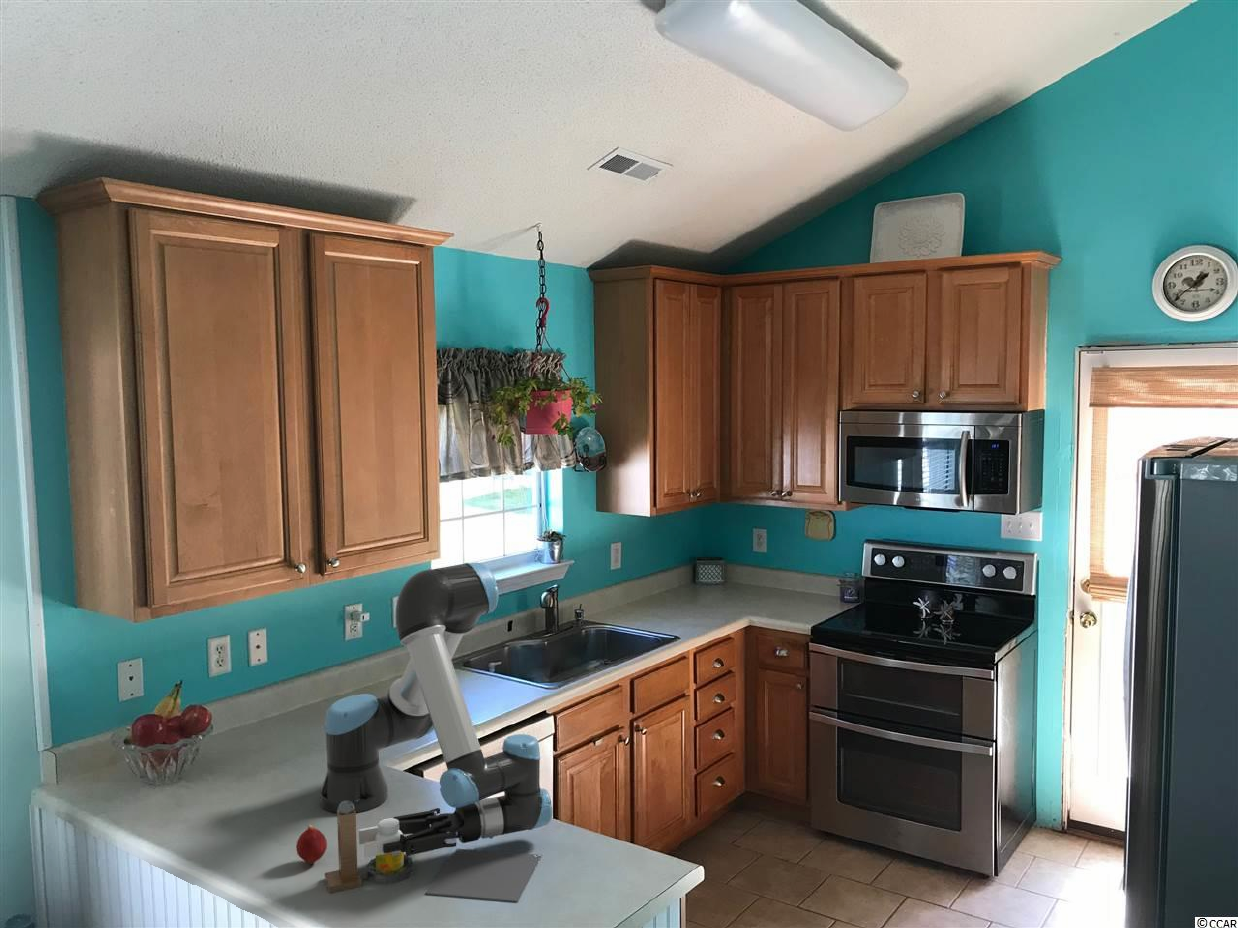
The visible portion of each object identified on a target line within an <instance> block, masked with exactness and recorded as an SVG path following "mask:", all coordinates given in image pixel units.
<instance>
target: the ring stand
mask: <svg viewBox="0 0 1238 928" xmlns="http://www.w3.org/2000/svg"><path fill="white" fill-rule="evenodd" d="M356 813H357V812H355V810H354V804H353V803H352V802H351V801H348V800H345V801H343V802H341V803H340V805H339V807H338V809H337V813H336V818H337V819H336V820H337V821H336V822H337V847H338V848H337V849H338V850H337V853H338V869H336V870H332V871H327V872H324V880H325V884H326V886H327V891H328V892H329V894H332V893H336V892H340V891H344V890H350V889H354V888H358V887H362V886H363V882H362V881H363V880H369V881H371V882H372V883H374V884H385V885H387V884H388V885H389V884H393V883H399V882H401V881H403V880H405V879H408V878H409V877H410V876H411V875H412V873H413V872H414V862H413V859H412V857H410V855H409V856H407V855H406V853H405V854H404V868H403V869H402V870H400V871H398V872H394V873H388V874H384V873H377V872H376V857H375V858H372V859H370V861H369V862H368V863H367V864H366V865H365V867H364V868H360V869H358V850H357V849H358V847H357V844H358V842H357V819H356V817H357V816H356V815H357V814H356Z"/></svg>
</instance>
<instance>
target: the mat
mask: <svg viewBox="0 0 1238 928" xmlns="http://www.w3.org/2000/svg"><path fill="white" fill-rule="evenodd" d="M534 855H536V856H537V857H535V856H534ZM538 855H539V854H537V853H536V854H534V853H521V852H510V851H509V852H507V851H496V850H495V851H494V850H482V849H468V848H456V850H455V851H454V852H453V853H452V855H451V856H450V858H449V859H448V861H447V862H446V863H445V865H444V866H443V867H442V869H441V870H440V872H439V873H438V875H437V876H436V877H435V879H434V880H433V881H432V883H431V884H430V885H429V887H428V888H427V889H426V891H425V894H424V895H426V896H437V897H439V896H441V897H452V898H461V899H463V898H464V899H473V898H474V900H475V899H476V900H484V901H485V900H486V901H497V902H500V901H501V902H509V903H518V902H519V901H520V898H521V897H522V895H523V893H524V892H525V889H526V887H527V885H528V883H529V881H530V879H531V878H532V876H533V874H534V873H535V870H536V868H537V866H538V865H537V864H539V863H538V861H539V860H540V861H541V859H540V858H542V857H543V855H542V854H540V855H541V856H542V857H541V856H538ZM540 861H539V862H540ZM535 867H536V868H535Z"/></svg>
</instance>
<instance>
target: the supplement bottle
mask: <svg viewBox="0 0 1238 928" xmlns="http://www.w3.org/2000/svg"><path fill="white" fill-rule="evenodd" d="M377 826H378V830H379V832H378V833H377V835H376V837H375V840H380V839H385V838H390V837H395V836H399V841H400V835H401V834H402V835H404V834H403V833H402V832H401V831H400V830H399V821H398V820H397V819H394V818H393V817H389V818H385V819H381V820H380V821H379V822H378V825H377ZM404 853H405V852H401V851H397V852H392V853H387V854H382V855H377V856H375V858H376V868H375V872H377V873H384V874H388V873H394V872H398V871H400V870H402V869H404V868H405V865H404Z"/></svg>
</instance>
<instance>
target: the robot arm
mask: <svg viewBox="0 0 1238 928" xmlns="http://www.w3.org/2000/svg"><path fill="white" fill-rule="evenodd" d="M498 602H499V588H498V583H497V581H496V578H495V576H494V574H493V572H492V571H491V569H489V567H487V566H486V565H485V564H483V563H481V562H471V563H470V562H465V563H462V564H455V565H450V566H445V567H444V566H443V567H438V568H432V569H424V570H421V571H419V572H417V573H415V574H413V575H412V576H411V577H410V578H409V579H408V580H407V581H406V582H405V583H404V584H403V586H402V588H401V590H400V592H399V594H398V597H397V601H396V606H395V616H394V617H395V626H396V631H397V636H398V639H399V642H400V645H402V646H404V647H406V648H407V650H408V653H409V655H410V659H409V661H408V663H407V665H406V668H405V669H404V672H403V673H402V677H399V678H398V679H396V680H394V681H393V682H392V683H391V685H390V687H389V689H388V691H387V694H386V695H384V696H380V697H376V696H375V695H372V694H370V693H360V694H357V695H356V694H353V695H348V696H346V697H343V698H340V699H337V700H336V701H335V702H332V704H331V705H330V706H329V707H328V708H327V710H326V714H325V724H324V729H325V739H326V740H325V741H326V774H325V775H324V776H325V777H324V780H323V782H322V783H323V784H322V787H321V790H320V792H319V793H320V795H319V797H320V800H319V801H320V806H321V808H323V809H324V810H326V811H328V812H331V813H336V814H337V809H338V807H339V805H340V803H341V802H343V801H345V800H348V801H351V802H352V803H353V804H354V810H355V812H356V813H360V812H365V811H368V810H371V809H375V808H377V807H379V806H380V805H382V804H383V803H385V802H386V801H387V800H388V797H389V794H388V793H389V791H388V784H387V782H386V779H385V776H384V774H383V773H384V772H383V771H382V768H381V765H380V750H382V749H384V748H388V747H389V748H390V747H392V746H395V745H398V744H403V743H406V742H409V741H412V740H413V741H414V740H418V739H421V738H423V737H425V736H427V735H429V734H431V733H432V732H433V731H434V733H435V736H436V739H437V742H438V744H439V748H440V751H441V753H442V757H443V761H444V763H445V766H446V770H445V771H443V772H442V774H441V776H440V778H439V785H440V788H439V791H440V794H441V796H442V799H443V800H444V802H445V803H446V804H447V806H449V807H451V808H454V811H453V812H449V813H446V812H445V813H442V812H441V808H439V807H437V808H436V807H435V808H433V809H431V810H430V809H429V810H426V811H421V812H414V813H409V814H402V815H398V816H394V817H392V818H394V819H397V820H398V821H399V830H400V831H401V832H402V833H403V835H402V834H401V835H400V841H399V836H395V837H390V838H385V839H380V840H375V837H376V835H377V833H378V832H379V830H378V825H376V826H370V827H366V828H365V827H364V828H360V829H358V844H359V845H364V858H366V859H367V858H372V857H376V856H377V855H382V854H387V853H392V852H397V851H401V852H404V853H405V855H407V856H409V857H410V856H412V855H413V856H414V855H418V854H421V853H426V852H431V851H434V850H439V849H444V848H445V849H446V848H454V847H457V839H458V840H459V842H460V843H462V844H466V843H471V842H476V841H478V840H480V838H481V839H483V840H484V839H488V838H489V839H493V838H494V837H498V836H503V835H508V834H513V833H518V832H523V831H532V830H535V829H537V828H541V827H544V826H548V824H550V822H551V821H552V819H553V815H554V814H553V809H554V808H553V803H552V798H551V795H550V793H549V791H548V790H547V789H546V788H541V785H540V775H541V774H540V772H541V771H540V767H541V766H540V765H541V764H540V763H541V755H540V754H541V752H540V745H539V741H538V739H537V738H536V737H535V736H532V735H530V734H524V733H522V734H520V733H519V734H513V735H510V736H507V737H506V738H505V739H504V740H503V743H502V748H501V750H502V751H501V752H498V753H494V754H491V755H488V756H486V757H484V754H483V752H482V751H483V750H482V748H481V745H480V742H479V739H478V737H477V733H476V730H475V727H474V724H473V722H472V718H471V715H470V713H469V709H468V707H467V702H466V700H465V697H464V694H463V691H462V689H461V685H460V682H459V679H458V676H457V674H456V670H455V667H454V664H453V661H452V659H453V657H454V655H455V652H456V651H457V648H458V646H459V645H460V642H461V640H462V639H463V636H464V635H465V634H468V633H470V632H472V631H473V630H474V629H475V627H476V625H477V623H478V621H479V619H480V617H481V616H482V615H488V614H490V613H492V612H493V611H495V610H496V609H497V606H498ZM501 793H504V795H501V796H495V795H498V794H501ZM492 796H494V797H492Z"/></svg>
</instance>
